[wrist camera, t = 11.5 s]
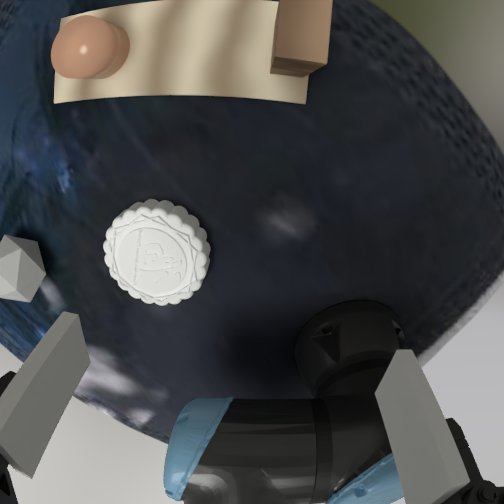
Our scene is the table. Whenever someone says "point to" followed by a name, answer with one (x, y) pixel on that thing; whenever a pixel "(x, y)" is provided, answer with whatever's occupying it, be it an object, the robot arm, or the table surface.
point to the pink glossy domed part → (89, 48)
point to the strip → (212, 49)
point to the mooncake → (157, 252)
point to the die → (20, 268)
